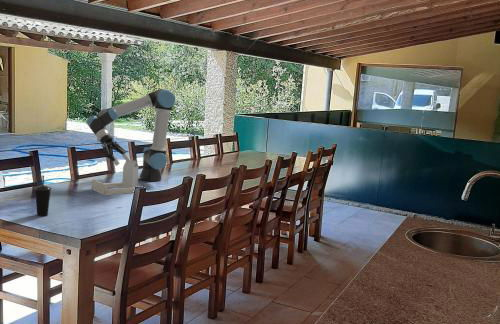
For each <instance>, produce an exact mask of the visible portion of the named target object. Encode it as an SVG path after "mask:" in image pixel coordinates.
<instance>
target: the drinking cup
mask: <svg viewBox="0 0 500 324" xmlns="http://www.w3.org/2000/svg"><path fill="white" fill-rule="evenodd" d="M41 183H42V185H39V186H37V187H36V186H35V187H34V193H35V194H34V195H35V204H36V205H35V206H36V216H37V215H38V216H37V217H47V216H48V215H49V208H50V207H49V206H50V199H51V190H52V187H50V186H48V185H45V184H44V183H45V175H42V180H41Z"/></svg>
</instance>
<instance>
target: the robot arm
mask: <svg viewBox="0 0 500 324" xmlns="http://www.w3.org/2000/svg"><path fill="white" fill-rule="evenodd" d="M175 104H176V95H175V94H174V92H173V91H172V90H170V89H165V88H164V89H163V88H159V89H156V90H154V91H152V92H150V93H149V92H148V93H146V95H145V96H141V97H139V98H136V99H132V100H130V101H127V102H124V103H121V104H117V105H114V106H112V107H109V108H104V109H103V108H102V109H101V110H100V111H99V113H98V116H96V115H92V116H90V117H88V118H87V120H86V125H87V126H88V127H89V129H90V130H91V132H92V133H93V134H94V136H95V137H96V138H97V139H98V140H99V142H100V143H101V147H102V149H103V150H104V154H105V157H107V159H111V162H112V163H113V164H114V165H115V166H116V167H117V166H119V165H120V161H119V160H118V159H117V158H116V156H115V155H114V154H113V151H116V152H118V153H119V154H121V155H122V158H123V159H124V161H126V160H131V158H130V157H129V156H128V155H127V152H128V151H127V150H126V149H125V148H124V147H123V146H122V145H120V144H119V143H118V142H117V141H116V140H115V141H113V137H112V135H110V133H109V131H108V130H107V129H106V126H109V124H111V123H113V122H114V121H116V120H117V119H118V118H120V117H123V116H125V115H127V114H131V113H134V112H137V111H141V110H144V109H146V108H149V107H150V108H153V107H154V109H155V110H156V115H155V121H154V130H153V137H152V144H151V146H150V147H144V148H143V151H142V152H143V157H142V159H143V160H142V169H141V173H140V175H139V180H141V181H145V182H160V181H162V175H161V171H160V170H162V169H164V168H165V166H167V164H168V158H167V151H168V150H167V149H166V141H167V135H168V127H169V118H170V113H172V111H173V107H174V105H175Z"/></svg>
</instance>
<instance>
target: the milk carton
mask: <svg viewBox="0 0 500 324" xmlns="http://www.w3.org/2000/svg"><path fill="white" fill-rule="evenodd" d="M138 180H139V165H138V163H137V160H131V159H130V160H125V162H124V164H123V167H122V182H123V183H122V187H121V188H132V187H136V186H137V187H139V186H138V185H139V184H138V183H139V181H138Z"/></svg>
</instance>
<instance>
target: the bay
mask: <svg viewBox="0 0 500 324" xmlns="http://www.w3.org/2000/svg"><path fill="white" fill-rule="evenodd" d="M122 183H123V181H120V182H119V181H118V182H105V183H103V182H101V181H98V180H96V179H91V190H93V191H95V192H97V193H99V194H101V195H103V196H109V195H121V194H122V195H123V194H134V193H133V191H134V188H135V187H132V188H122ZM141 185H142V186H143V187H145V188H146V183H142V184H141ZM142 186H141V187H142Z"/></svg>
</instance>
